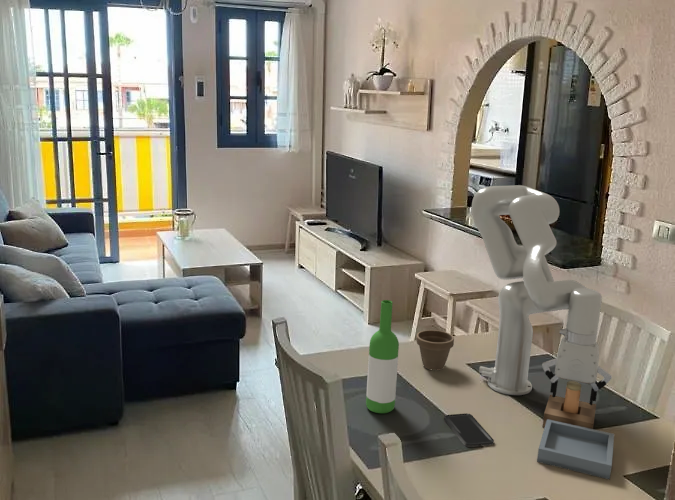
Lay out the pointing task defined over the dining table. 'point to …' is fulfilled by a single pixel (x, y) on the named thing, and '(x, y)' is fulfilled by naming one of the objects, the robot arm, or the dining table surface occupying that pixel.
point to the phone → (468, 430)
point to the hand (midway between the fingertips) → (572, 399)
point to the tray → (576, 448)
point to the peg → (572, 397)
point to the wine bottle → (382, 364)
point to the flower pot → (434, 348)
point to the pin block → (557, 414)
